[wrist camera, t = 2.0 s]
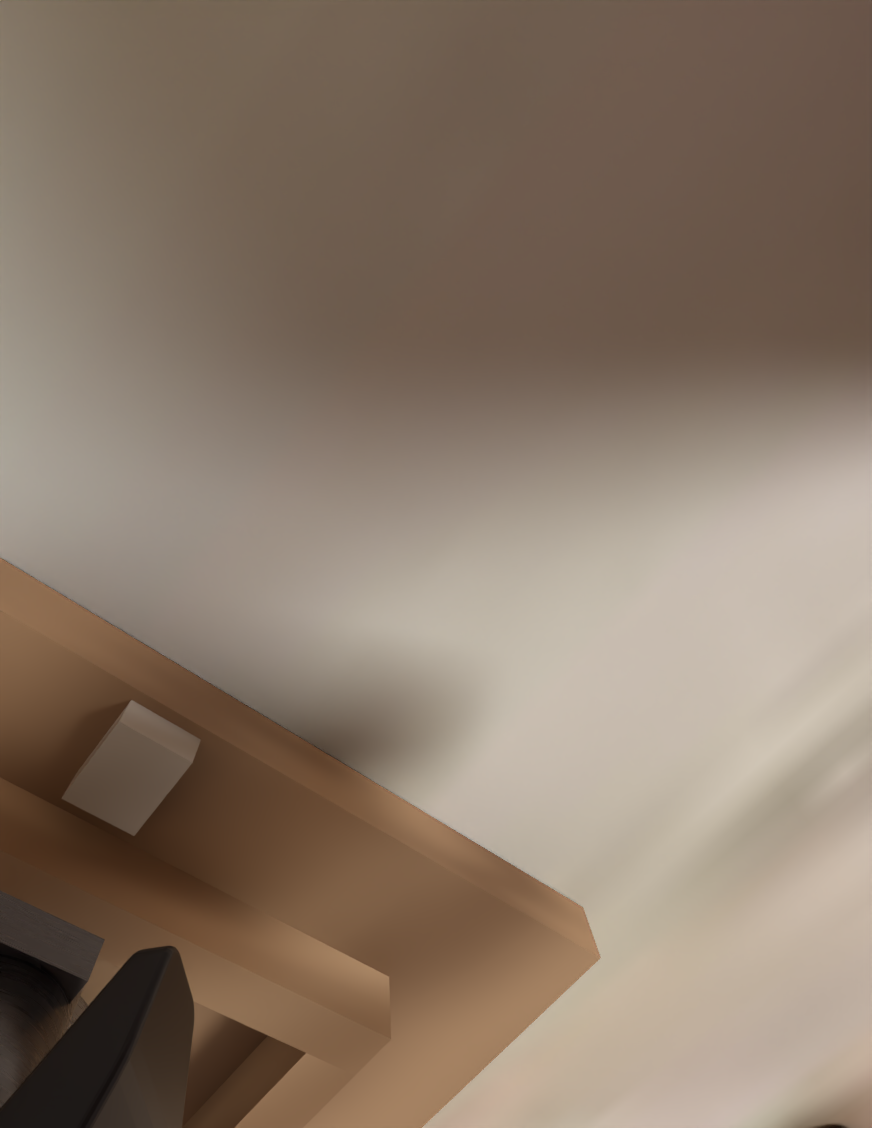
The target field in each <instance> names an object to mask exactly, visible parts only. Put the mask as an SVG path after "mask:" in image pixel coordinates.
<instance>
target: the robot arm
mask: <svg viewBox="0 0 872 1128" xmlns="http://www.w3.org/2000/svg"><path fill="white" fill-rule="evenodd" d="M194 1014H195V1013H194V1001H193V997H192V993H191V990H190V986H189V983H188V980H187V976H186V973H185V969H184V966H183V963H182V959H181V956H180V953H179V951H178V950H177V949H176V947H174V946H170V945H169V946H162V947H155V948H149V949H142V950H139V951H137V952H136V953H134V954H133V955H132V956H131V957H130V958H129V959H128V960H127V961H126V962H125V964H124V965H123V966H122V967H121V968H120V969H119V971H118V972H117V973H116V974H115V975H114V976H113V978H112V979H111V980H110V981H109V982H108V983H107V985H106V986H105V987H104V988H103V989H102V990H101V992H100V993H99V994H98V995H97V996H96V997H95V999H94V1000H93V1001H92V1002H91V1003H90V1004H89V1006H88V1007H87V1008H86V1009H85V1010H84V1011H83V1013H82V1014H81V1015H80V1016H79V1017H78V1018H77V1020H76V1021H75V1022H74V1023H73V1024H72V1025H71V1027H70V1028H69V1029H68V1030H67V1031H66V1032H65V1034H64V1035H63V1036H62V1037H61V1038H60V1039H59V1040H58V1042H57V1043H56V1044H55V1045H54V1046H53V1047H52V1049H51V1050H50V1051H49V1052H48V1053H47V1054H46V1056H45V1057H44V1058H43V1059H42V1060H41V1061H40V1063H39V1064H38V1065H37V1066H36V1067H35V1068H34V1070H33V1071H32V1072H31V1073H30V1074H29V1075H28V1077H27V1078H26V1079H25V1080H24V1081H23V1082H22V1084H21V1085H20V1086H19V1087H18V1088H17V1089H16V1091H15V1092H14V1093H13V1094H12V1095H11V1096H10V1098H9V1099H8V1100H7V1101H6V1102H5V1103H4V1105H3V1106H2V1107H1V1108H0V1128H182V1122H183V1113H184V1105H185V1096H186V1088H187V1080H188V1071H189V1063H190V1054H191V1046H192V1037H193V1029H194Z"/></svg>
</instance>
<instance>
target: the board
mask: <svg viewBox="0 0 872 1128" xmlns="http://www.w3.org/2000/svg"><path fill="white" fill-rule="evenodd" d="M0 891H2V892H5V893H7V894H9V895H11V896H13V897H15V898H17V899H20V900H22V901H24V902H26V903H28V904H30V905H32V906H35V907H37V908H39V909H41V910H43V911H45V912H47V913H49V914H52V915H54V916H56V917H58V918H60V919H62V920H64V921H67V922H69V923H71V924H73V925H75V926H77V927H79V928H82V929H84V930H86V931H88V932H90V933H92V934H94V935H97V936H99V937H101V938H103V939H105V940H104V943H103V945H102V948H101V950H100V953H99V955H98V958H97V960H96V963H95V965H94V968H93V970H92V973H91V975H90V978H89V980H88V982H87V983H86V984H85V986H84V988H83V991H82V993H81V997H82V998H83V999H84V1000H85V1002H86V1003H87V1004H88V1006H89V1004H90V1003H91V1002H92V1001H93V1000H94V999H95V997H96V996H97V995H98V994H99V993H100V992H101V990H102V989H103V988H104V987H105V986H106V985H107V983H108V982H109V981H110V980H111V979H112V978H113V976H114V975H115V974H116V973H117V972H118V971H119V969H120V968H121V967H122V966H123V965H124V964H125V962H126V961H127V960H128V959H129V958H130V957H131V956H132V955H133V954H134V953H136V952H137V951H139V950H142V949H149V948H155V947H162V946H169V945H170V946H174V947H176V949H177V950H178V951H179V953H180V956H181V959H182V963H183V966H184V969H185V973H186V976H187V980H188V983H189V986H190V990H191V993H192V997H193V1001H194V1013H195V1014H194V1029H193V1037H192V1046H191V1054H190V1063H189V1071H188V1080H187V1088H186V1096H185V1105H184V1113H183V1122H182V1128H422V1127H423V1126H424V1125H425V1124H426V1123H427V1122H428V1121H429V1120H430V1119H431V1118H432V1117H433V1116H434V1115H435V1114H436V1113H438V1112H439V1111H440V1110H441V1109H442V1108H443V1107H444V1106H445V1105H446V1104H447V1103H448V1102H449V1101H450V1100H451V1099H452V1098H453V1097H454V1096H455V1095H457V1094H458V1093H459V1092H460V1091H461V1090H462V1089H463V1088H464V1087H465V1086H466V1085H467V1084H468V1083H469V1082H470V1081H471V1080H472V1079H473V1078H474V1077H475V1076H477V1075H478V1074H479V1073H480V1072H481V1071H482V1070H483V1069H484V1068H485V1067H486V1066H487V1065H488V1064H489V1063H490V1062H491V1061H492V1060H493V1059H494V1058H496V1057H497V1056H498V1055H499V1054H500V1053H501V1052H502V1051H503V1050H504V1049H505V1048H506V1047H507V1046H508V1045H509V1044H510V1043H511V1042H512V1041H513V1040H515V1039H516V1038H517V1037H518V1036H519V1035H520V1034H521V1033H522V1032H523V1031H524V1030H525V1029H526V1028H527V1027H528V1026H529V1025H530V1024H531V1023H532V1022H533V1021H535V1020H536V1019H537V1018H538V1017H539V1016H540V1015H541V1014H542V1013H543V1012H544V1011H545V1010H546V1009H547V1008H548V1007H549V1006H550V1005H551V1004H552V1003H554V1002H555V1001H556V1000H557V999H558V998H559V997H560V996H561V995H562V994H563V993H564V992H565V991H566V990H567V989H568V988H569V987H570V986H571V985H573V984H574V983H575V982H576V981H577V980H578V979H579V978H580V977H581V976H582V975H583V974H584V973H585V972H586V971H587V970H588V969H589V968H590V967H591V966H593V965H594V964H595V963H596V962H597V961H598V960H599V959H600V955H599V952H598V949H597V946H596V943H595V940H594V937H593V935H592V932H591V929H590V926H589V923H588V920H587V917H586V915H585V912H584V909H583V907H581V906H580V905H578V904H576V903H575V902H573V901H571V900H570V899H568V898H566V897H565V896H563V895H561V894H560V893H558V892H556V891H555V890H553V889H551V888H550V887H548V886H546V885H545V884H543V883H541V882H540V881H538V880H536V879H535V878H533V877H531V876H530V875H528V874H526V873H525V872H523V871H521V870H520V869H518V868H516V867H515V866H513V865H511V864H510V863H508V862H506V861H505V860H503V859H501V858H500V857H498V856H496V855H495V854H493V853H491V852H490V851H488V850H486V849H485V848H483V847H481V846H480V845H478V844H476V843H475V842H473V841H471V840H470V839H468V838H466V837H465V836H463V835H461V834H460V833H458V832H456V831H455V830H453V829H451V828H450V827H448V826H446V825H445V824H443V823H441V822H440V821H438V820H436V819H435V818H433V817H431V816H430V815H428V814H426V813H425V812H423V811H421V810H420V809H418V808H416V807H415V806H413V805H411V804H410V803H408V802H406V801H405V800H403V799H401V798H400V797H398V796H396V795H395V794H393V793H391V792H390V791H388V790H386V789H385V788H383V787H381V786H380V785H378V784H376V783H375V782H373V781H371V780H370V779H368V778H366V777H365V776H363V775H361V774H360V773H358V772H356V771H355V770H353V769H351V768H350V767H348V766H346V765H345V764H343V763H341V762H340V761H338V760H336V759H335V758H333V757H331V756H330V755H328V754H326V753H325V752H323V751H321V750H320V749H318V748H316V747H315V746H313V745H311V744H310V743H308V742H306V741H305V740H303V739H301V738H300V737H298V736H296V735H295V734H293V733H291V732H290V731H288V730H286V729H285V728H283V727H281V726H280V725H278V724H276V723H275V722H273V721H271V720H270V719H268V718H266V717H265V716H263V715H261V714H260V713H258V712H256V711H255V710H253V709H251V708H250V707H248V706H246V705H245V704H243V703H241V702H240V701H238V700H236V699H235V698H233V697H231V696H230V695H228V694H226V693H225V692H223V691H221V690H220V689H218V688H216V687H215V686H213V685H211V684H210V683H208V682H206V681H205V680H203V679H201V678H200V677H198V676H196V675H195V674H193V673H191V672H190V671H188V670H186V669H185V668H183V667H181V666H180V665H178V664H176V663H175V662H173V661H171V660H170V659H168V658H166V657H165V656H163V655H161V654H160V653H158V652H156V651H155V650H153V649H151V648H150V647H148V646H146V645H145V644H143V643H141V642H140V641H138V640H136V639H135V638H133V637H131V636H130V635H128V634H126V633H125V632H123V631H121V630H120V629H118V628H116V627H115V626H113V625H111V624H110V623H108V622H106V621H105V620H103V619H101V618H100V617H98V616H96V615H95V614H93V613H91V612H90V611H88V610H86V609H85V608H83V607H81V606H80V605H78V604H76V603H75V602H73V601H71V600H70V599H68V598H66V597H65V596H63V595H61V594H60V593H58V592H56V591H55V590H53V589H51V588H50V587H48V586H46V585H45V584H43V583H41V582H40V581H38V580H36V579H35V578H33V577H31V576H30V575H28V574H26V573H25V572H23V571H21V570H20V569H18V568H16V567H15V566H13V565H11V564H10V563H8V562H6V561H5V560H3V559H1V558H0Z"/></svg>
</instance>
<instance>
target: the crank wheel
mask: <svg viewBox="0 0 872 1128" xmlns="http://www.w3.org/2000/svg"><path fill="white" fill-rule="evenodd" d="M104 940H105V939H103V938H101V937H99V936H97V935H94V934H92V933H90V932H88V931H86V930H84V929H82V928H79V927H77V926H75V925H73V924H71V923H69V922H67V921H64V920H62V919H60V918H58V917H56V916H54V915H52V914H49V913H47V912H45V911H43V910H41V909H39V908H37V907H35V906H32V905H30V904H28V903H26V902H24V901H22V900H20V899H17V898H15V897H13V896H11V895H9V894H7V893H5V892H2V891H0V1108H1V1107H2V1106H3V1105H4V1103H5V1102H6V1101H7V1100H8V1099H9V1098H10V1096H11V1095H12V1094H13V1093H14V1092H15V1091H16V1089H17V1088H18V1087H19V1086H20V1085H21V1084H22V1082H23V1081H24V1080H25V1079H26V1078H27V1077H28V1075H29V1074H30V1073H31V1072H32V1071H33V1070H34V1068H35V1067H36V1066H37V1065H38V1064H39V1063H40V1061H41V1060H42V1059H43V1058H44V1057H45V1056H46V1054H47V1053H48V1052H49V1051H50V1050H51V1049H52V1047H53V1046H54V1045H55V1044H56V1043H57V1042H58V1040H59V1039H60V1038H61V1037H62V1036H63V1035H64V1034H65V1032H66V1031H67V1030H68V1029H69V1028H70V1027H71V1025H72V1024H73V1023H74V1022H75V1021H76V1020H77V1018H78V1017H79V1016H80V1015H81V1014H82V1013H83V1011H84V1010H85V1009H86V1008H87V1007H88V1004H87V1003H86V1002H85V1000H84V999H83V998H82V997H81V993H82V991H83V988H84V986H85V984H86V983H87V982H88V980H89V978H90V975H91V973H92V970H93V968H94V965H95V963H96V960H97V958H98V955H99V953H100V950H101V948H102V945H103V943H104Z"/></svg>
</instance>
